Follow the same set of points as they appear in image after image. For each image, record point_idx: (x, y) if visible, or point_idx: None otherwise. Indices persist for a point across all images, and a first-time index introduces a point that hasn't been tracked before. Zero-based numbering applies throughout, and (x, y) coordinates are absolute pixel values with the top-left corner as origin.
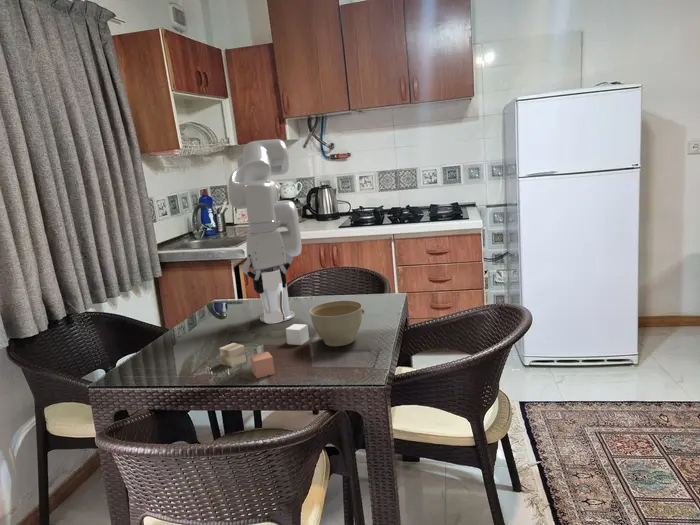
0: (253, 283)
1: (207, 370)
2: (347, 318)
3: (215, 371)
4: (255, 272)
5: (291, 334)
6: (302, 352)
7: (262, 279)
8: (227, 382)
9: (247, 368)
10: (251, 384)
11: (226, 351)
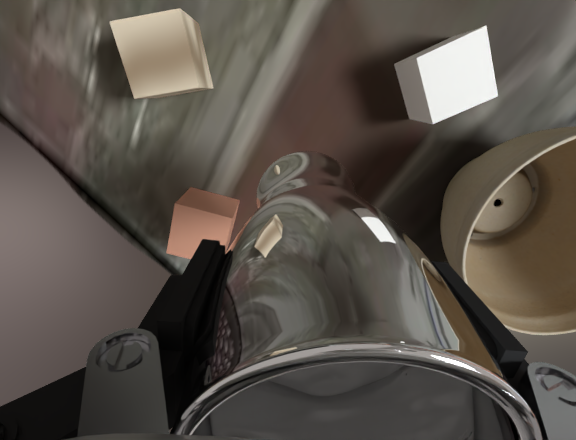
0: (148, 313)
1: (83, 47)
2: (510, 318)
3: (104, 81)
4: (141, 430)
5: (414, 85)
6: (366, 178)
7: (208, 427)
8: (112, 190)
9: (191, 148)
10: (158, 248)
11: (129, 74)
